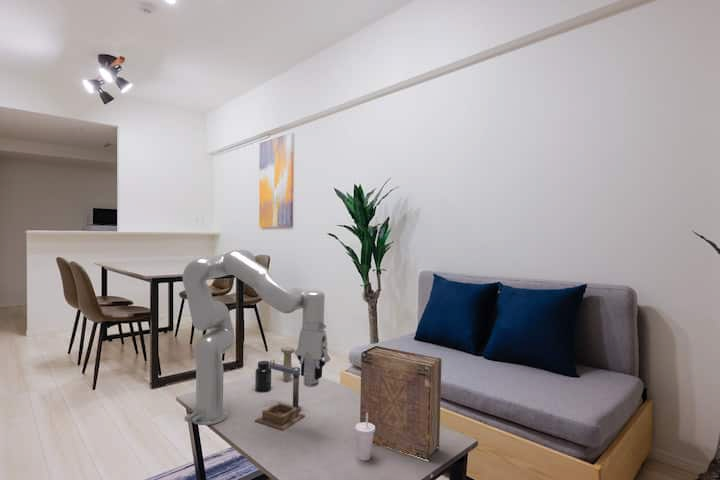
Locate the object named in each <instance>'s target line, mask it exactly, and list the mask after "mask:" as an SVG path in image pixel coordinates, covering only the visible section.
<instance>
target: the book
mask: <svg viewBox="0 0 720 480" xmlns="http://www.w3.org/2000/svg"><path fill="white" fill-rule="evenodd" d="M360 356H361V357H360V401H359V402H360V404H359V405H360V409H359V410H360V411H359V412H360V413H359V414H360V415H359V416H360V417H359V420H360V422H359V423H362V422H366V413H368V423H371V424H373V425H374V426H375V432H374V437H373V443H372V444H374V443H376V444H375V445H377V444H379V445H378V446H380V445H382V446H381V447H383V446H386V447H389V448H392V449H395V450H397V451H401V452H403V453H407V454H411V455H414V456H417V457H420V458H423V459H427V460H430V459H431V456H430V455H432V454H433V453H435V451H436V450H437V449H436V448H437V447H439V448H440V439H441V437H440V435H441V434H440V431H441V401H442V400H441V399H442V398H441V396H442V365H443V364H442V361H443V360H442V358H441V357H435V356H430V355H424V354H422V353H421V354H420V353H414V352H409V351H404V350H399V349H394V348H388V347H383V346H379V345H375V346H372V347H371V348H368V349H366V350H364V351H362V352H361V354H360ZM435 449H436V450H435ZM397 451H396V452H397ZM403 453H402V454H403Z"/></svg>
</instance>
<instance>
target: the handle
mask: <svg viewBox="0 0 720 480" xmlns="http://www.w3.org/2000/svg"><path fill="white" fill-rule="evenodd" d="M280 352H281V353H283V364H282V365H283V366H288V367H292V368H293V366H292V354H293V353H294V352H295V348H294V347H292V346H291V347H290V346H284V347H281V348H280ZM282 374H283V375H282V376H283V381H284V382H290V381H291V379H292V374H290V373H286V372H282Z"/></svg>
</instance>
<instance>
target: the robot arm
mask: <svg viewBox="0 0 720 480" xmlns="http://www.w3.org/2000/svg"><path fill="white" fill-rule="evenodd" d="M231 275H232V276H234V277H235V278H237V279H238V280H240V281H241V282H244V283H245V284H246V285H248V286H249V287H250V288H252V289H253V290H254V291H255V293H256V294H257V295H258V296H259V298H260V299H261V300H262V301H263V302H265V304H267V305H268V306H270V307H272V308H273V309H275V311H276V310H277V311H278V312H280V313H283V314H291V313H293V312H296V311H298V310H300V309H302V322H301V323H302V326H301V329H300V331H299V336H298V345H297V348H296V349H295V350H294V352H293V353H294V355H295V356H296V357H297V360H298V361H299V364H300V376H301V377H304V357H305V353H307V352H308V353H310V354H311V355H312V358H313V359H314V360H315V362H316V366H317V368H315V379H316V380H317V379H319V380H320V379H321V378H322V375H323V368H324V366H325V365H326V364H327V363H329V362H330V361H331V357H330V356H329V354H328V338H327V337H328V336H327V333H326V332H327V331H326V330H325V329H326V328H327V325H326V324H325V293H324V292H323V291H321V290H307V289H302V288H297V287H296V288H291V289H289V290H286V289H284V288H282V287H281V286H280V285H278V284H277V283H276V282H275V281H273V280H272V278H271V276H270V270H269V269H268V268H267V267H265V266H263V265H262V264H260V263H259V262H257V261H256V257H255V256H254V254H253V253H252V252H251V251H249V250H247V249H237V250H231V251H228V252H226V253H223V254H218V255H212V256H202V257H197V258H195V259H194V260H191V261H190V262H189V263H188V264H187V265H186V266H185V268H184V269H183V273H182V283H183V288H184V291H185V295H186V298H187V304H188V308H189V313H190V318H191V322H192V326H193V327H194V328H195V329H196V330H198V331H201V332H202V331H208V330H209V332H207V333H204V334H203V335H202V336H200V337H199V338H198V339H197V340H196V341H195V344H194V347H193V353H194V359H195V372H196V374H195V376H196V379H195V380H196V381H195V384H196V385H195V408H193V411H192V412H191V413H190V414H187V415H185V416H184V421H185V422H189V421H191V422H192V423H193V424H195V425H198V426H210V425H215V424H218V423H222V422H223V421H224V420H226V419H227V417H228V411H227V410H226V408H225V409H224V364H223V360H222V357H221V356H222V355H223V354H225V353H227V352H228V351H230V350H231V349H232V347H233V346H234V344H235V332H234V328H233V324H232V319H231V314H230V310H229V308H228V307H227V305H226V304H225V303H224V302H221V301H218V300H214V299H213V295H212V290H211V288H210V287H209V285H208V284H207V281H208V280H213V279H218V278H222V277H227V276H231Z"/></svg>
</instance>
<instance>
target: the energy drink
mask: <svg viewBox="0 0 720 480" xmlns="http://www.w3.org/2000/svg"><path fill="white" fill-rule="evenodd" d="M315 368H317V366H316V362H315V360H314V359H313V358H312V355H311V354H310V353H308V352H307V353H305V357H304V376H303V386H304V387H307V388H314V387H318V385H319V384H320V382H319V381H320V378H319V379H317V380H316V379H315Z"/></svg>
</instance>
